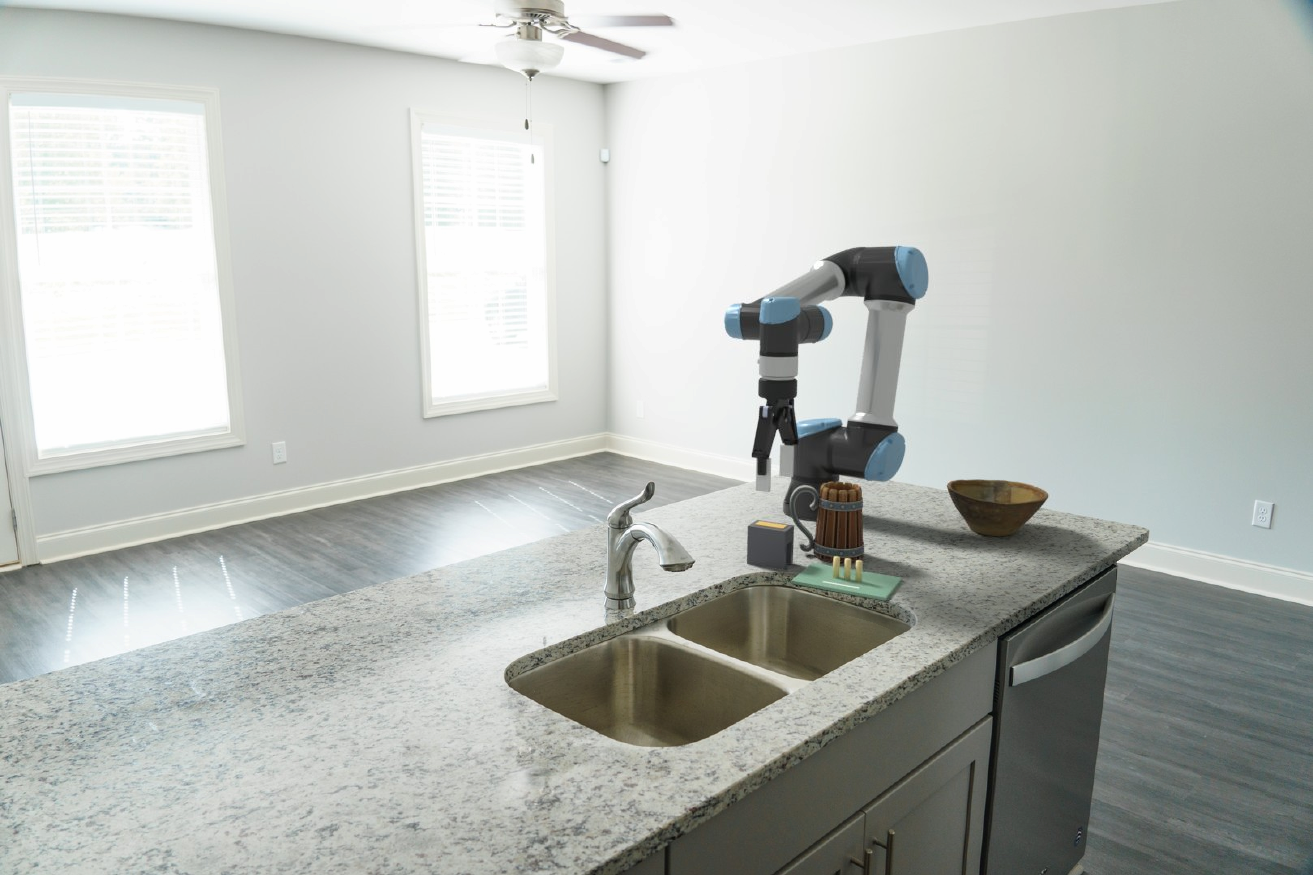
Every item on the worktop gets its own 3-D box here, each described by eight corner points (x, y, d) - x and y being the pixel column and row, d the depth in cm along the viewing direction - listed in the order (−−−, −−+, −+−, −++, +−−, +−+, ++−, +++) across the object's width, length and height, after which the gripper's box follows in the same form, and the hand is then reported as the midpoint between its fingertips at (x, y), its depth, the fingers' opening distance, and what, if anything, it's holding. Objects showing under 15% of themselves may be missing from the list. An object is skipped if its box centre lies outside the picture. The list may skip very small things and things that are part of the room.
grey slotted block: (756, 556, 184) (757, 518, 183) (792, 563, 180) (794, 524, 179) (746, 563, 180) (747, 524, 178) (783, 570, 176) (785, 530, 175)
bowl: (1053, 526, 207) (1057, 484, 205) (1035, 552, 188) (1039, 506, 186) (957, 512, 218) (960, 472, 217) (931, 535, 200) (934, 492, 198)
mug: (860, 548, 190) (864, 480, 187) (867, 565, 179) (870, 493, 177) (787, 546, 191) (789, 478, 188) (789, 562, 181) (791, 491, 178)
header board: (812, 565, 179) (813, 543, 178) (901, 580, 170) (903, 557, 169) (791, 583, 169) (792, 560, 168) (885, 600, 160) (886, 576, 159)
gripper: (780, 369, 185) (778, 468, 189) (735, 383, 163) (733, 495, 167) (815, 371, 181) (812, 472, 185) (774, 386, 160) (771, 500, 164)
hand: (775, 483), depth 176 cm, fingers open, 13 cm apart
